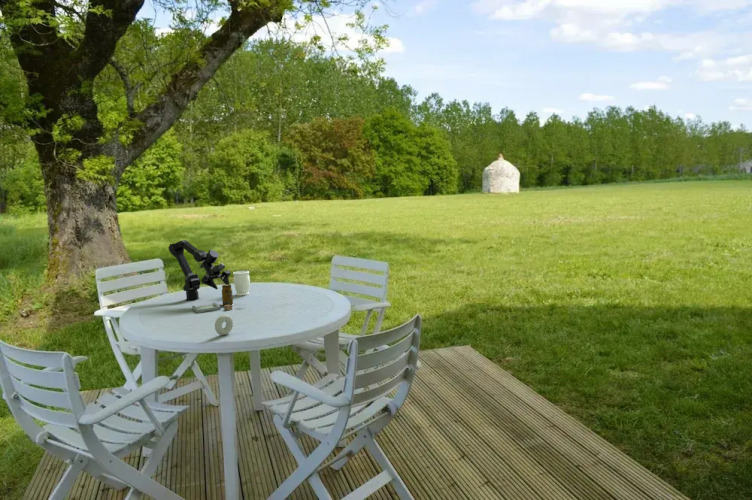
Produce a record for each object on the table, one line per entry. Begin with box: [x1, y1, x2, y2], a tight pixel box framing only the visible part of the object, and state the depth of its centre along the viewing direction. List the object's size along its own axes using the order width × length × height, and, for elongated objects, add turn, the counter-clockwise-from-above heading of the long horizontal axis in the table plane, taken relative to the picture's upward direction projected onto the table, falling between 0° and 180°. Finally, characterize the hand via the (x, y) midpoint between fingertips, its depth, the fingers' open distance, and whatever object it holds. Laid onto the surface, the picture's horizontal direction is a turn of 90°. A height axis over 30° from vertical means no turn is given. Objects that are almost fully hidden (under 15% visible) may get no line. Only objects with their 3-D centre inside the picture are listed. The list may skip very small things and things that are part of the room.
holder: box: [191, 302, 221, 314], centre depth 324 cm, size 13×13×2 cm
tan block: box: [223, 305, 233, 311], centre depth 322 cm, size 4×3×2 cm
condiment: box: [219, 283, 238, 307], centre depth 334 cm, size 7×8×12 cm
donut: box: [214, 314, 234, 336], centre depth 269 cm, size 10×4×10 cm, turn 143°
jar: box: [232, 270, 251, 297], centre depth 362 cm, size 11×10×15 cm
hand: (223, 287), depth 335 cm, fingers open, 9 cm apart
